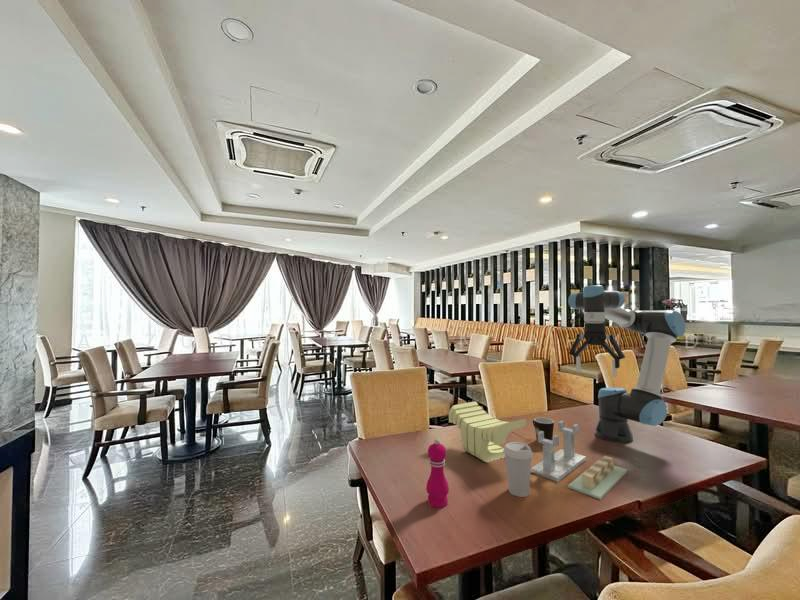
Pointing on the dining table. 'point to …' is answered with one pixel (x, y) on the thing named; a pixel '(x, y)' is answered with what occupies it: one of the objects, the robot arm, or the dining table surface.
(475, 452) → the slatted curved stool
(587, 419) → the dining table surface
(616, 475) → the green mat
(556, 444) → the rail stand
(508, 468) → the coffee cup
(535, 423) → the coffee mug
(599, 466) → the wooden rail
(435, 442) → the pepper mill
